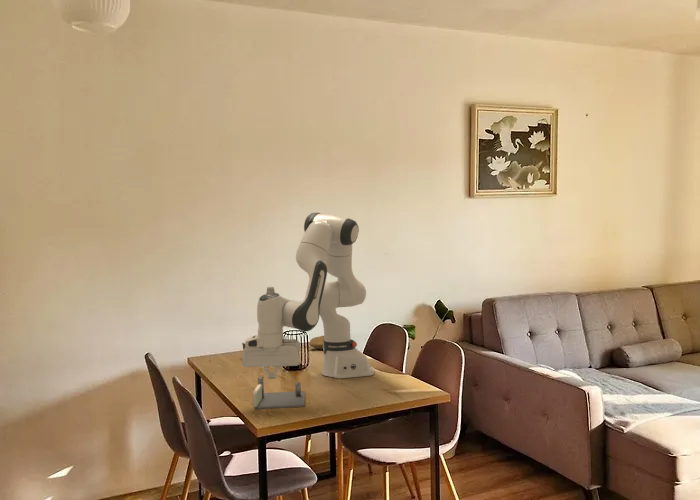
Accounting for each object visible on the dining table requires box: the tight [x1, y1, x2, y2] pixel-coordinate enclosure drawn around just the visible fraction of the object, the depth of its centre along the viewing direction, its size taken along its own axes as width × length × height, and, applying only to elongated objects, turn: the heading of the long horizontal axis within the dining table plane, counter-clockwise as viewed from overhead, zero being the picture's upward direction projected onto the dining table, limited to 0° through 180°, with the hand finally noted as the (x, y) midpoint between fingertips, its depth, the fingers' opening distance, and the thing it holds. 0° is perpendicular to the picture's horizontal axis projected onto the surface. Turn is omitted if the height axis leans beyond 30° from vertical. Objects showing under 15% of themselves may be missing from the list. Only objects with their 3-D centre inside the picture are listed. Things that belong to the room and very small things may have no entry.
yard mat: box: [255, 390, 306, 410], centre depth 226 cm, size 17×18×1 cm
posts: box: [257, 376, 302, 398], centre depth 229 cm, size 16×2×8 cm, turn 94°
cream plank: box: [252, 383, 262, 408], centre depth 222 cm, size 11×1×5 cm, turn 178°
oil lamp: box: [308, 335, 324, 350], centre depth 313 cm, size 11×15×8 cm
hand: (271, 378), depth 220 cm, fingers closed
